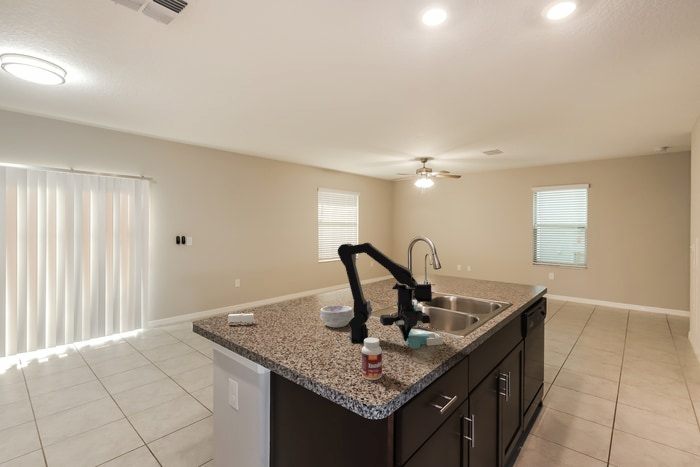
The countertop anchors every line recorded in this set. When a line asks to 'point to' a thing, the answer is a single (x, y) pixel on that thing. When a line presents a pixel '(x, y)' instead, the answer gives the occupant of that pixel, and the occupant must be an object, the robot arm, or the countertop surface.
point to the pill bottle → (371, 359)
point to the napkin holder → (241, 317)
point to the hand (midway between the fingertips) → (405, 341)
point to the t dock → (433, 339)
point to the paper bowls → (336, 315)
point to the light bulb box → (415, 310)
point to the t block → (416, 339)
